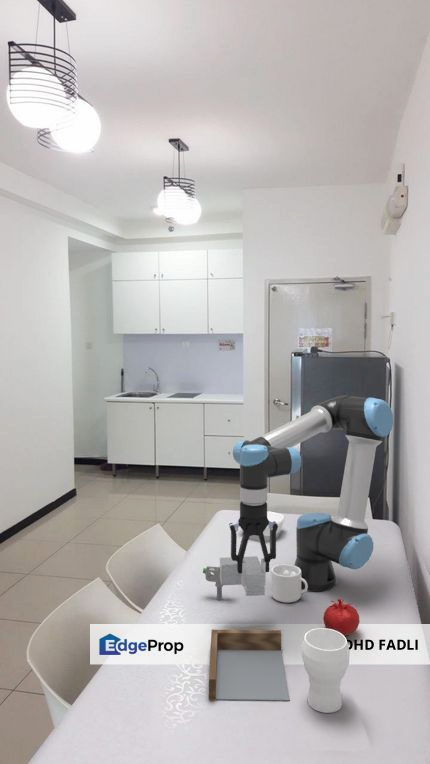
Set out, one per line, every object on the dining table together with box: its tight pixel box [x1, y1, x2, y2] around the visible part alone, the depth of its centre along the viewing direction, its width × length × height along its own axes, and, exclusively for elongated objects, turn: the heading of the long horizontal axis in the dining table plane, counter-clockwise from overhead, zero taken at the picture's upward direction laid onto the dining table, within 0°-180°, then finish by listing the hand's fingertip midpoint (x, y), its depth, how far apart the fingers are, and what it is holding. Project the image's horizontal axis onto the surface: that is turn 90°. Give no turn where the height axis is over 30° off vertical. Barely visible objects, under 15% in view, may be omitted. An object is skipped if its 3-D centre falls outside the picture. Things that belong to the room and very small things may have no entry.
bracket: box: [219, 555, 266, 597], centre depth 154 cm, size 11×12×6 cm
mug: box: [270, 563, 308, 604], centre depth 175 cm, size 12×10×9 cm
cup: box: [301, 627, 350, 714], centre depth 124 cm, size 11×11×15 cm
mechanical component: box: [202, 565, 224, 601], centre depth 174 cm, size 3×10×10 cm, turn 78°
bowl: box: [249, 510, 286, 543], centre depth 227 cm, size 18×18×9 cm
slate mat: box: [215, 649, 291, 702], centre depth 135 cm, size 17×20×1 cm
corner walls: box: [208, 629, 282, 701], centre depth 136 cm, size 19×22×5 cm
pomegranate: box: [322, 598, 360, 636], centre depth 155 cm, size 10×10×9 cm
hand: (253, 583), depth 152 cm, fingers closed on bracket, 5 cm apart
